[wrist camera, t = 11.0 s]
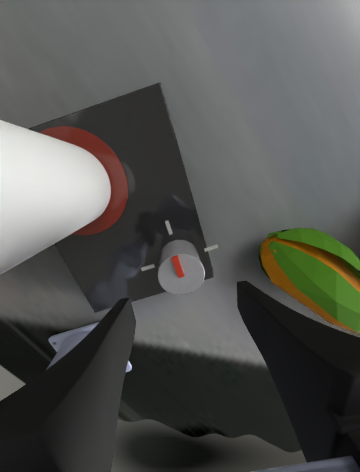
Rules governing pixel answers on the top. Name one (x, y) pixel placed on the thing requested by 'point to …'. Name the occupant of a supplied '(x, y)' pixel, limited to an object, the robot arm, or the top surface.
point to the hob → (134, 201)
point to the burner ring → (112, 168)
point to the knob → (180, 268)
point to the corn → (315, 273)
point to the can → (44, 192)
